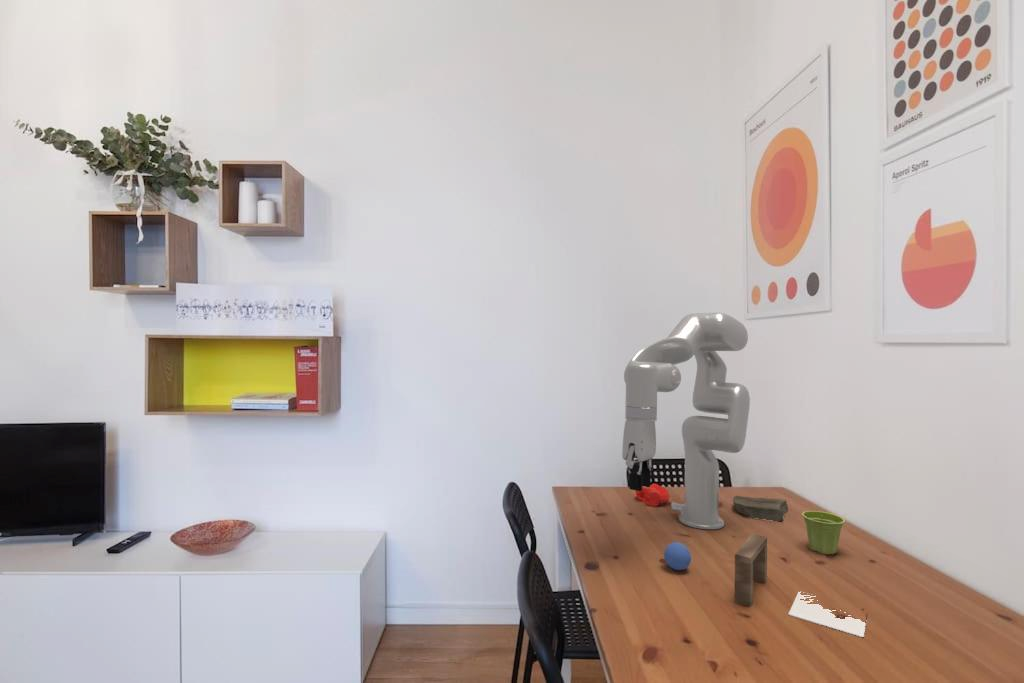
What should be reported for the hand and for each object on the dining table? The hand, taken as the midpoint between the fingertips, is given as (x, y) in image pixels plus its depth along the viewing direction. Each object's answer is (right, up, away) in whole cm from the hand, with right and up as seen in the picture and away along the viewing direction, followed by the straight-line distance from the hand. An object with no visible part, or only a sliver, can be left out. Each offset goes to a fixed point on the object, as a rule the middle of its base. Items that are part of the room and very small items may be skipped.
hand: (640, 487), depth 123 cm
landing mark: (+31, -18, -25) cm, 43 cm away
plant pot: (+49, -19, +7) cm, 53 cm away
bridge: (+20, -17, -16) cm, 31 cm away
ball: (+7, -14, -6) cm, 17 cm away
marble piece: (+48, -19, +36) cm, 63 cm away
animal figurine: (+17, -19, +48) cm, 54 cm away
